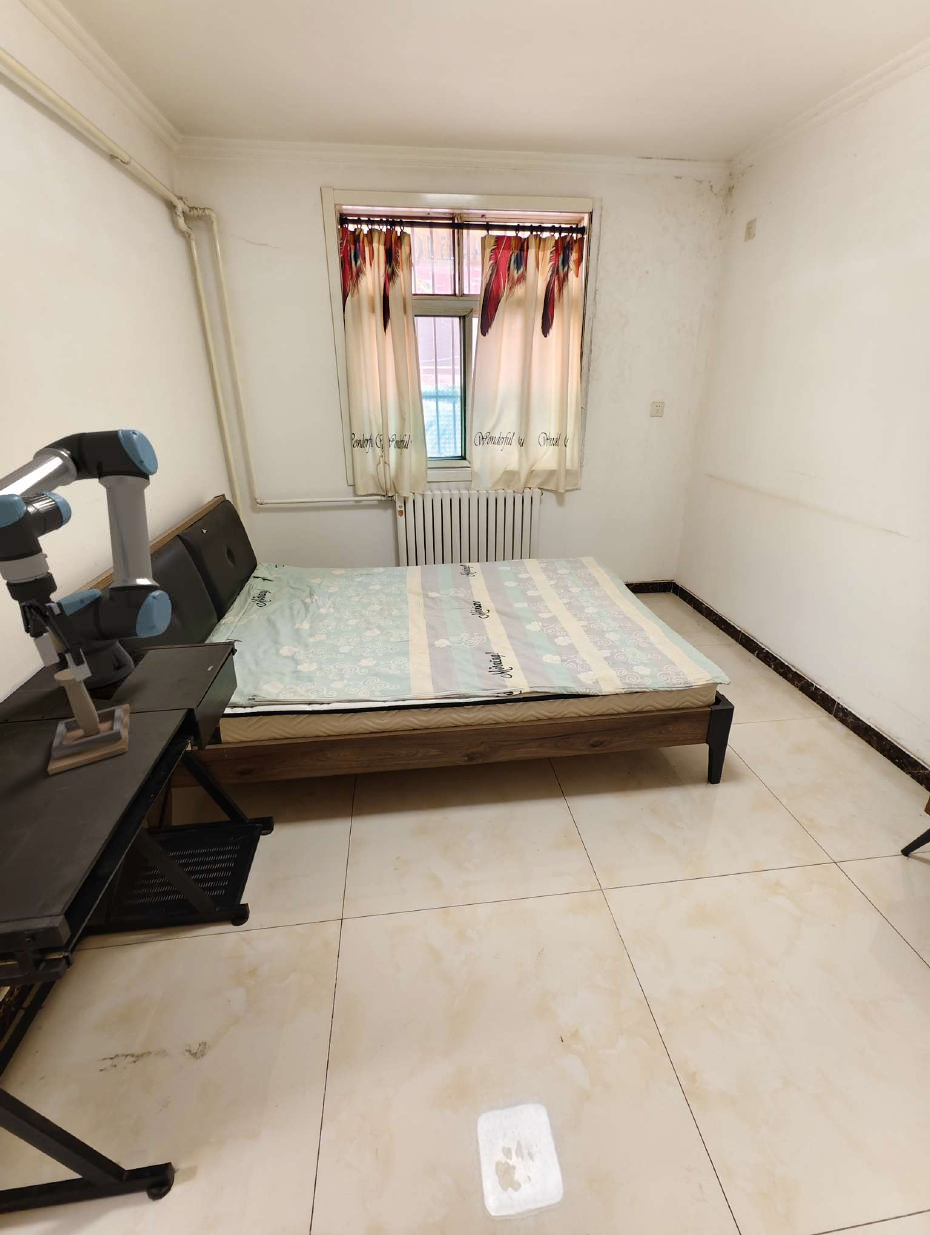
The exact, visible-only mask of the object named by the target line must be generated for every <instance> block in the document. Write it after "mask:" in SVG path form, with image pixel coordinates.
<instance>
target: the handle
mask: <svg viewBox="0 0 930 1235" xmlns="http://www.w3.org/2000/svg"><path fill="white" fill-rule="evenodd" d="M53 676H54V679H55V682H56V683H57V684H58V685H59V686H61V687H64V689H65V691H66V694H67V698H68V700H69V703H70V707H71V710H72V713H73V715H74V718H76V720H77V722H78V724H79V726H80V727H81V729H82V730H84V732H83V733H84V734H85V736H94V735H95V734H97V733H99V732H100V724H99V719H98V715H97V710H96V707H95V705H94V703H93V701H92V698H91V697H90V695H89V692H88V691H87V690H88V689H86V688H85V686H84V684H83V680H84V679H85V678H84V679H82V680H80V681H76V680H75V677H74V675H73V673H72V670H71V668H69V669H68V668H65V669H63V670H61V671H58V672H56V673H55V674H54V675H53Z"/></svg>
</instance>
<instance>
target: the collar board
mask: <svg viewBox="0 0 930 1235" xmlns="http://www.w3.org/2000/svg"><path fill="white" fill-rule="evenodd" d="M96 712H97V715H98V719H99V724H100V732H99V733H97V734H95V735H94V736H85V734H84V733H83V732H84V730H82V729H81V727H80V726H79V724H78V722H77V720H76V718H75V717H71V718H68V719H64V720H60V721H58V725H57V728H56V731H55V735H54V739H53V743H52V747H51V750H50V752H51V755H50V759H49V763H48V767H47V772H48V774H49V776H51V775H53V774H56V773H61V772H64V771H67V770H69V769H73V768H78V767H80V766H83V765H86V764H92V763H95V762H97V761H100V760H103V759H108V758H111V757H113V756H116V755H119V754H123V753H127V752H128V750H129V735H128V732H129V733H130V718H129V715H130V714H131V707H130V704H129V703H127V704H121V705H116V706H113V707H108V708H105V709H102V710H98V711H97V710H96Z"/></svg>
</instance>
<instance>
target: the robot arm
mask: <svg viewBox="0 0 930 1235" xmlns="http://www.w3.org/2000/svg"><path fill="white" fill-rule="evenodd" d="M158 462H159V461H158V457H157V455H156V451H155V449H154V447H153V444H152V443H151V442H150V440H149V438H147V436H146V435H145V434H144V433H143V432H141V431H139V430H138V429H122V428H120V429H115V430H102V431H89V432H86V431H85V432H76V433H72V434H70V435H67V436H64V437H61V438H59V439H58V440H55V441H54V442H51V443H49V444H48V445H45V446H44V447H42V448H40V449H39V450H37V451H35V453H34V455H33V457H32V460H30V461H28V462H27V463H25V464H23V465H22V466H20V467H18V468H17V469H15V470H13V471H12V472H10V473H9V474H7V475H5V476H3V477H2V478H1V479H0V575H1V578H2V579H3V580H4V581H6V583H5V586H6V588H7V591H8V593H9V595H10V597H11V599H12V600H13V601H16V602H17V603H18V605H19V610H20V615H21V619H22V624H23V630H24V633H26V634H29V637H30V638H32V640H33V642H34V645H35V648H36V649H37V652H38V654H39V656H40V658H41V661H42V664H43V666H44V667H50V666H51V665H54V664H56V663H59V662H60V658H59V656H58V653H57V652H56V648H55V646H54V644H53V642H52V639H51V637H50V635H49V634H48V633H49V632H52V634H53V635H54V636H55V638H56V639H57V641H58V642H59V644H60V645H61V647H63V649H64V650H62V651H63V652H62V654H63V655H64V656H65V658H66V661H67V663H68V664H67V669H69V668H71V670H72V673H73V675H74V677H75V680H76V681H80V680H82V679H84V678H85V679H84V680H83V684H84V686H85V688H86V690H88V689H95V688H101V687H105V686H108V685H110V684H113V683H116V682H118V681H120V680H122V679H123V678H125V677H128V676H129V675H130V674H131V673H132V672H133V671H134V670H135V665H134V661H133V658H132V657H131V656H130V655H129V653H127V651H126V650H125V649H124V648H123V647H122V645H121V644H120V643H119V640H127V639H136V638H137V639H138V638H141V639H145V638H148V637H154V636H159V635H161V634H162V633H164V632H165V631H166V629H168V626H169V624H170V622H171V617H172V603H171V600H170V597H169V595H168V593H167V592H165V591H163V590H161V587H160V584H159V583H158V582H156V581H155V579H153V571H152V560H151V550H150V549H151V548H150V538H149V527H148V519H147V518H148V516H147V515H148V514H147V507H146V496H145V490H146V489H147V488H148V487H149V486H150V484H151V481H150V478H151V477H150V476H153V475H155V474H156V473H157V472H158V469H159V463H158ZM96 479H97V481H98V484H100V485H101V486H103V487H104V489H105V492H106V493H105V494H106V502H107V504H106V505H107V513H108V525H109V526H108V527H109V536H110V537H109V538H110V545H111V556H112V558H111V559H112V568H113V579H114V581H113V582H112V583H111V584H110V585H109V586H108V595H103V592H101V590H100V589H98V588H92V589H86V590H82V591H79V592H76V593H75V592H74V593H72V594H69V595H67V596H64V597H62V598H60V599H58V600H56V601H54V600H52V598H51V595H52V594H54V593H55V592H57V590H58V585H57V583H56V581H55V578H54V574H53V573H52V572H50V571H49V570H50V567H49V563H48V561H47V558H48V554H47V553H44V551H43V548H42V546H41V544H40V543H41V542H40V540H39V538H40V537H42V536H45V535H47V534H50V533H52V532H54V531H58V530H59V529H61V528H62V527H63V526H65V525H67V524H68V523H69V522H70V521H71V518H72V514H73V513H72V508H71V505H70V504H69V502H68V501H67V500H66V499H65V498H64V497H63V496H62V495H60V494H58V493H56V492H54V491H55V490H56V489H57V488H59V487H66V486H69V485H71V484H72V483H74V482H77V481H84V480H96ZM47 627H48V628H49V629H48V628H47Z"/></svg>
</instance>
